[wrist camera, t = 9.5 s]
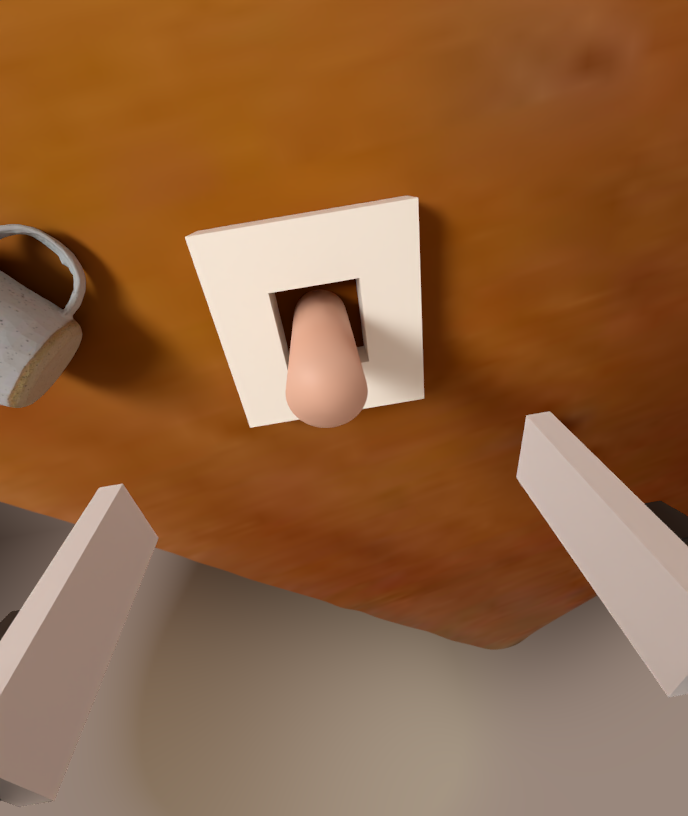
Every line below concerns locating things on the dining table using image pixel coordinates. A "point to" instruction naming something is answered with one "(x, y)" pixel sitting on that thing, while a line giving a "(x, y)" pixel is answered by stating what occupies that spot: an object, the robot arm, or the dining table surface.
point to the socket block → (308, 266)
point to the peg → (324, 363)
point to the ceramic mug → (36, 329)
